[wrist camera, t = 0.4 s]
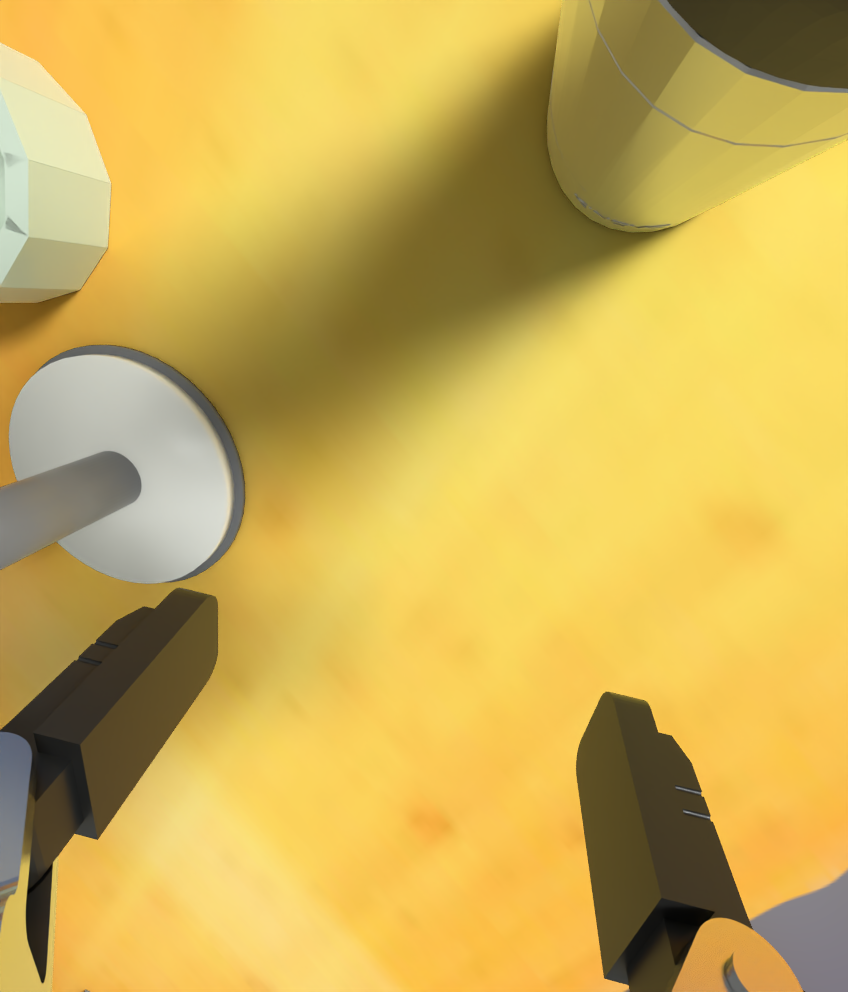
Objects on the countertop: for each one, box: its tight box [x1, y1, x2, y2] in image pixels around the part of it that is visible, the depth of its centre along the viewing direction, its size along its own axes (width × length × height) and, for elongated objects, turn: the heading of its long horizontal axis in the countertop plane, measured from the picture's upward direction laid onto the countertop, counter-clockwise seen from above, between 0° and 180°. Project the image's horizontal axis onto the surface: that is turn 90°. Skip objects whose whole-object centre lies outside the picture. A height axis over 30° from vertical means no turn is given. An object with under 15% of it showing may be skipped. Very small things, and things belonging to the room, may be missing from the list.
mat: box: [35, 345, 245, 583], centre depth 33 cm, size 16×16×1 cm
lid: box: [0, 354, 235, 584], centre depth 28 cm, size 15×15×12 cm
